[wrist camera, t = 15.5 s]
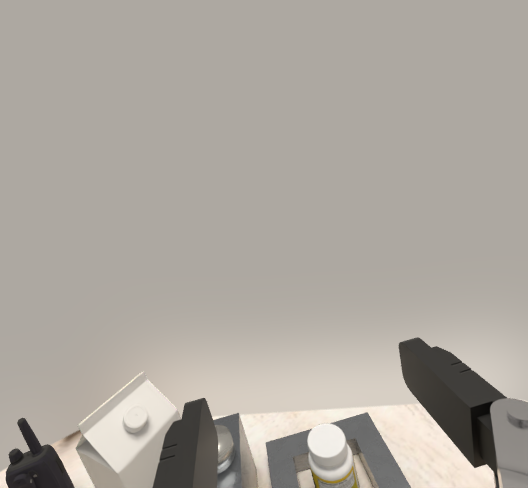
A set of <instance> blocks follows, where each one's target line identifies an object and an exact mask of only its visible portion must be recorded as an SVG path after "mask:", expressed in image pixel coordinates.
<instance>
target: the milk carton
mask: <svg viewBox="0 0 528 488" xmlns="http://www.w3.org/2000/svg"><path fill="white" fill-rule="evenodd" d="M177 420H181V417H180V415H179V412H178V410H177V408H176V407H175V406H174V405H173V404H172V403H171V402H170V401H169V400H168V399H167V398H166V397H165V396H164V395H163V394H162V393H161V392H160V391H159V390H158V389H157V388H156V387H155V386H154V385H153V384H152V383H151V382H150V381H149V380H147V377H146V375H145V372H144V371H142V372H141V373H140V374H139V375H137V376H136V377H135V378H134V379H133V380H131V381H130V382H129V383H128V384H127V385H125V386H124V387H123V388H122V389H121V390H119V391H118V392H117V393H116V394H115V395H113V396H112V397H111V398H110V399H108V400H107V401H106V402H105V403H104V404H102V405H101V406H100V407H99V408H98V409H96V410H95V411H94V412H93V413H92V414H90V415H89V416H88V417H87V418H85V419H84V420H83V421H82V422H81V423H80V424H78V427H79V429H80V431H81V433H82V436H81V438H80V441H79V443H78V445H77V447H76V450H77V452H78V454H79V456H80V458H81V460H82V462H83V464H84V466H85V468H86V470H87V472H88V474H89V476H90V478H91V480H92V482H93V484H94V486H95V488H153V483H154V479H155V475H156V471H157V467H158V463H159V462H160V461H159V459H160V454H161V451H162V446H163V442H164V438H165V434H166V433H167V431H168V430H169V428H170V426H171V425H172V423H173V422H174V421H177Z"/></svg>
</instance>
